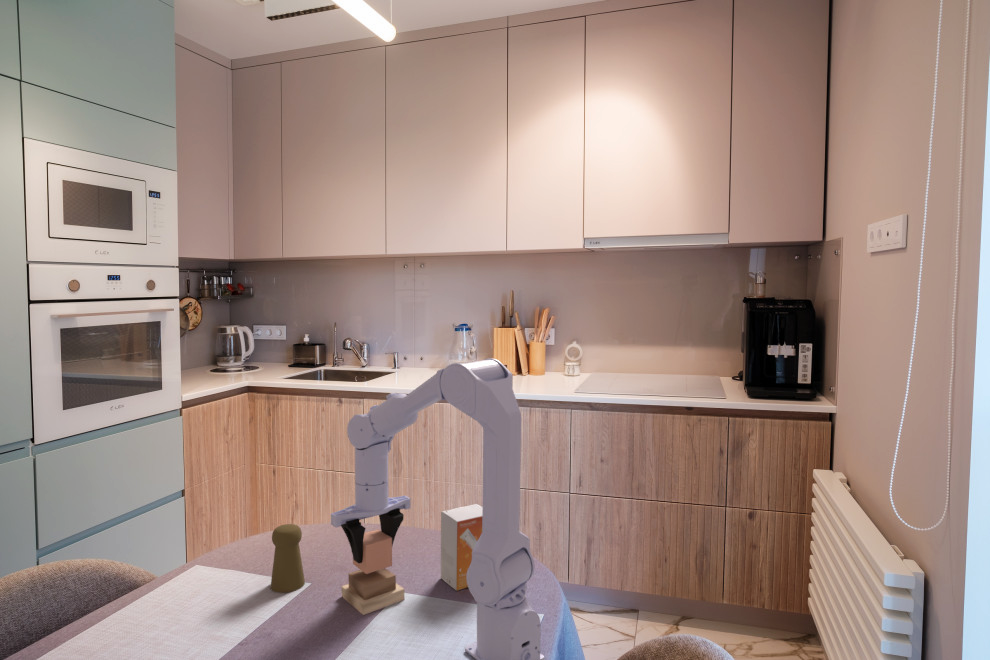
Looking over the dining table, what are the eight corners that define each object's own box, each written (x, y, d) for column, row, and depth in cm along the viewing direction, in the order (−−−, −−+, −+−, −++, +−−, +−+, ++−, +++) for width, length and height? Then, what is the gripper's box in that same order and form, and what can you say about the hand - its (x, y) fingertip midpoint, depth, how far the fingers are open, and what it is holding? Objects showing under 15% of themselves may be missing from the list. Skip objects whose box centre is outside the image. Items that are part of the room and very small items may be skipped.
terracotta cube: (392, 565, 106) (391, 537, 105) (366, 574, 102) (366, 545, 102) (378, 556, 109) (378, 529, 109) (352, 563, 106) (352, 536, 106)
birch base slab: (404, 602, 106) (404, 588, 105) (363, 618, 100) (363, 603, 100) (381, 585, 112) (381, 572, 112) (341, 599, 107) (341, 586, 106)
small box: (456, 592, 108) (456, 521, 108) (439, 578, 114) (439, 510, 113) (493, 580, 113) (494, 512, 112) (476, 567, 118) (476, 502, 117)
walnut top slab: (395, 589, 105) (395, 575, 105) (364, 600, 101) (364, 585, 101) (378, 577, 110) (378, 563, 110) (348, 587, 106) (348, 573, 106)
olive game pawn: (262, 588, 109) (261, 529, 109) (288, 574, 115) (287, 518, 114) (286, 595, 107) (285, 535, 106) (311, 581, 112) (311, 523, 111)
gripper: (396, 468, 113) (397, 538, 113) (322, 483, 103) (323, 560, 104) (416, 477, 107) (416, 551, 108) (340, 493, 98) (341, 574, 99)
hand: (372, 556), depth 106 cm, fingers closed on terracotta cube, 5 cm apart
